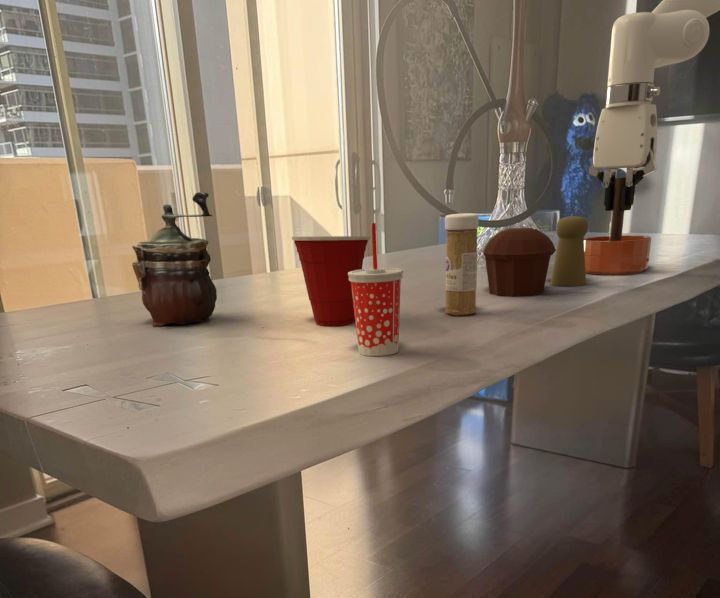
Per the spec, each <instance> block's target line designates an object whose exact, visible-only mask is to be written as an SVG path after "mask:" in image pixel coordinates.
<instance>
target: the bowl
mask: <svg viewBox="0 0 720 598" xmlns="http://www.w3.org/2000/svg"><path fill="white" fill-rule="evenodd" d="M651 245H652V237H651V236H647V235H622V239H621V241H609V235H601V236H600V235H599V236H590V237H584V253H585V272H586V274H589V275H597V276H598V275H600V276H602V275H603V276H621V275H633V274H635V275H636V274H640V273H642V272H643V271H644V270H647V269H648V268H649V263H650V254H651Z"/></svg>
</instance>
